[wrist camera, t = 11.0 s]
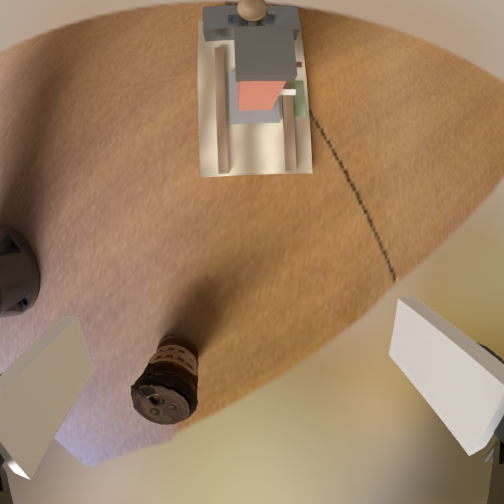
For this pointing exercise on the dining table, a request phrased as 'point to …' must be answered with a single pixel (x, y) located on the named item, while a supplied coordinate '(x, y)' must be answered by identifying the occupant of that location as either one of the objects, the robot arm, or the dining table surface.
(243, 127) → the cream base plate
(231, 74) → the handle
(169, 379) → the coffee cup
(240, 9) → the brown ball
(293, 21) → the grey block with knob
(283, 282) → the dining table surface
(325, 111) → the dining table surface
